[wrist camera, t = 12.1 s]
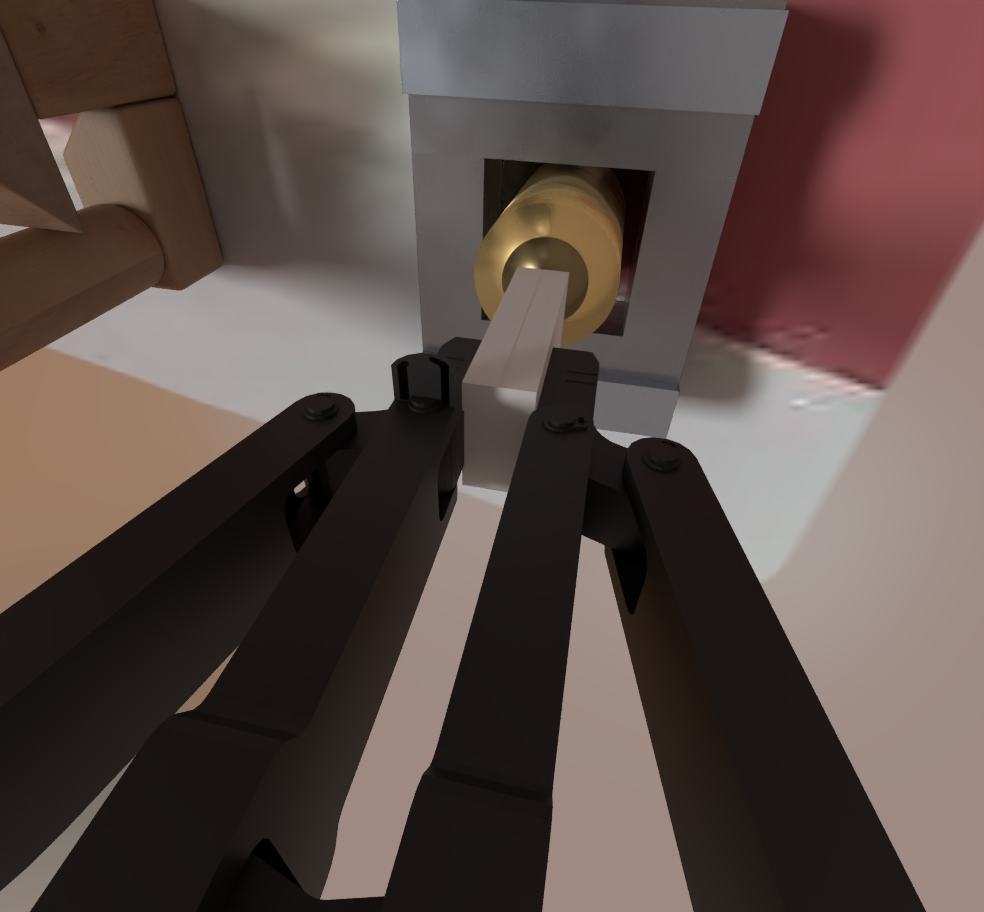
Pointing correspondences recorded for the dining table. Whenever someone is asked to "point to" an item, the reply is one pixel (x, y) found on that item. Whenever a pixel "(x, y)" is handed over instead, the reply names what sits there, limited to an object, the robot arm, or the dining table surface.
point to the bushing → (560, 242)
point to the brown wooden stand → (92, 169)
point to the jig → (586, 154)
